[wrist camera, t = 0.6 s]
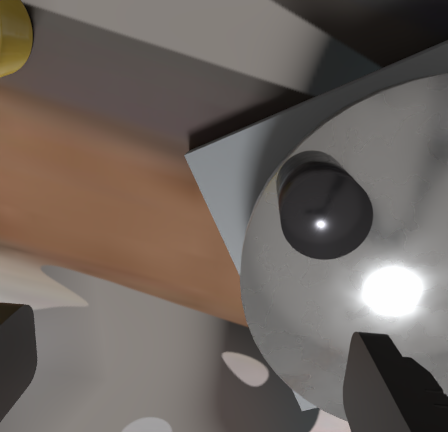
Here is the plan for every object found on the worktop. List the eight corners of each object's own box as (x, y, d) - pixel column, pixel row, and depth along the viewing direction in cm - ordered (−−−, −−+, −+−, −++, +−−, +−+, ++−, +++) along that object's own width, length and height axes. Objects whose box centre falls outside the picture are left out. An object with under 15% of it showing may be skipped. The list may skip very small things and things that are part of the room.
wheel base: (545, -3, 25) (629, -27, 19) (597, 318, 32) (669, 370, 26) (189, 150, 30) (172, 166, 25) (300, 394, 37) (306, 450, 32)
